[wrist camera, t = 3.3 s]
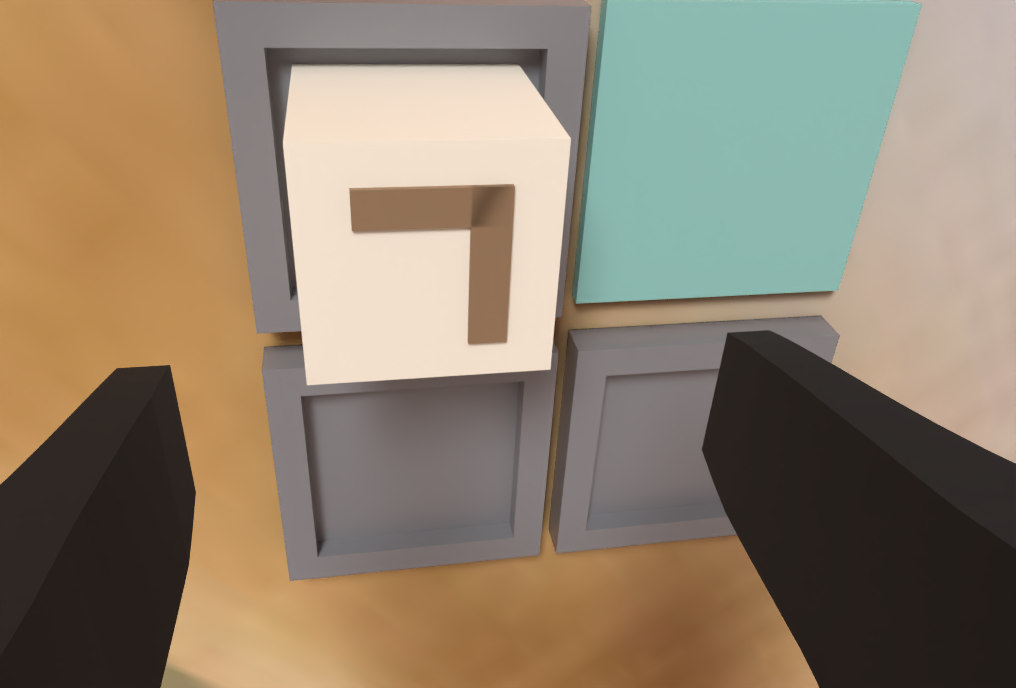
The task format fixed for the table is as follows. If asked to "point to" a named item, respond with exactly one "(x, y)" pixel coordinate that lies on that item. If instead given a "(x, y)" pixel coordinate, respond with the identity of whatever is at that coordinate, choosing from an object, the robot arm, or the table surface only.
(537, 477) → the tray
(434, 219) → the letter cube
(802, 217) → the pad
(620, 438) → the tray
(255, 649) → the table surface
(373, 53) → the tray
